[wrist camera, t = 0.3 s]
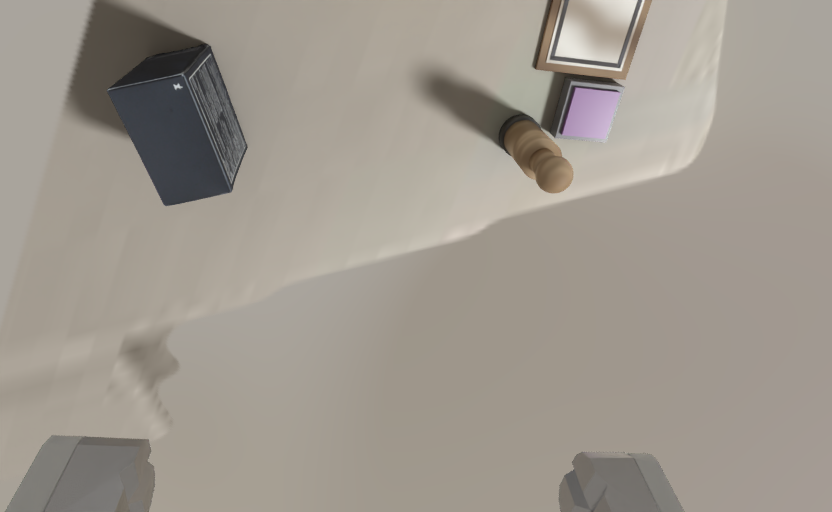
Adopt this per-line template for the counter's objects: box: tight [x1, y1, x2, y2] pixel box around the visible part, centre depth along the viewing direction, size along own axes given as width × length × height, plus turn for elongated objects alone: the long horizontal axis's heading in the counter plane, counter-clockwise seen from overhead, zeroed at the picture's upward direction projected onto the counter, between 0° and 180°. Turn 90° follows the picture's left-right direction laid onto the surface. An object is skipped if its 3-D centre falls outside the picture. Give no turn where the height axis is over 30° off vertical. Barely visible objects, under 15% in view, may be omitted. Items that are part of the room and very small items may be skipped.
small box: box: [107, 44, 248, 206], centre depth 47 cm, size 11×6×10 cm, turn 10°
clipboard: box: [535, 0, 652, 80], centre depth 52 cm, size 10×10×1 cm
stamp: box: [499, 115, 573, 193], centre depth 53 cm, size 4×4×12 cm
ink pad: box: [550, 77, 625, 142], centre depth 56 cm, size 6×6×2 cm
